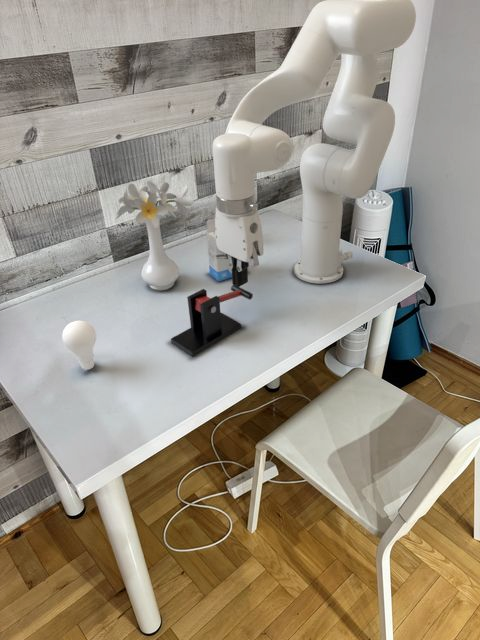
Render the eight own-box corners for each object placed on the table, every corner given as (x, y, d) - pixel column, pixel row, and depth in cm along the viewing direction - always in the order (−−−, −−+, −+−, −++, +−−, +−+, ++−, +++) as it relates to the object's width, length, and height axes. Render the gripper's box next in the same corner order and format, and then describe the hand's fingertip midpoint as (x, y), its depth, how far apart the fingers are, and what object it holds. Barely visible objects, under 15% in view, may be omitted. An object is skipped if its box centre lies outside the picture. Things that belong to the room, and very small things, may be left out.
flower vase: (207, 277, 129) (199, 180, 114) (150, 307, 118) (132, 204, 103) (174, 261, 136) (161, 167, 121) (117, 288, 125) (95, 189, 110)
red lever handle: (235, 291, 114) (235, 282, 113) (252, 300, 111) (253, 290, 110) (190, 306, 106) (190, 296, 104) (207, 316, 103) (207, 305, 101)
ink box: (218, 282, 127) (214, 227, 118) (209, 274, 130) (204, 220, 121) (247, 273, 131) (245, 219, 122) (237, 265, 134) (235, 212, 125)
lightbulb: (75, 381, 98) (60, 336, 91) (71, 363, 102) (56, 318, 96) (106, 373, 100) (94, 328, 93) (101, 355, 104) (89, 311, 97)
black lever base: (220, 316, 115) (217, 278, 109) (241, 328, 111) (239, 290, 105) (171, 343, 107) (165, 304, 101) (192, 357, 104) (187, 317, 98)
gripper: (277, 206, 97) (277, 288, 108) (224, 187, 105) (229, 265, 116) (249, 219, 93) (252, 303, 104) (196, 198, 101) (204, 278, 112)
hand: (240, 283), depth 110 cm, fingers closed
